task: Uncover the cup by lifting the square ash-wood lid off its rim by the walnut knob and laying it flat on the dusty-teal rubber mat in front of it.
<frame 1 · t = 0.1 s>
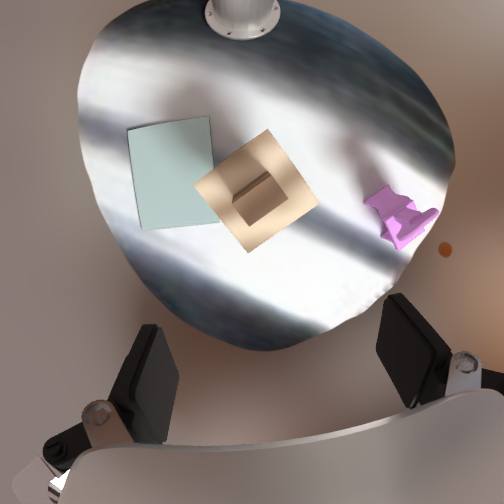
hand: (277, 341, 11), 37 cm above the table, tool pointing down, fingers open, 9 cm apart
lid: (257, 191, 33), point 12 cm above the table, touching cup
mat: (172, 174, 43), on the table
toy chair: (385, 212, 47), on the table
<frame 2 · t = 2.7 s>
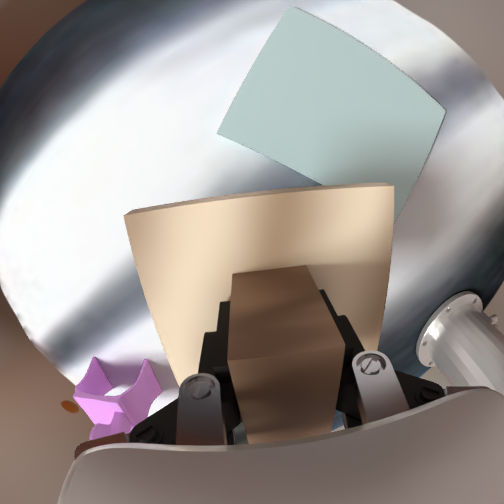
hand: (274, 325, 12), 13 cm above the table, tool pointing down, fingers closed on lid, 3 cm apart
lid: (271, 307, 13), point 12 cm above the table, touching cup, gripper
mat: (348, 112, 20), on the table
toy chair: (126, 373, 31), on the table
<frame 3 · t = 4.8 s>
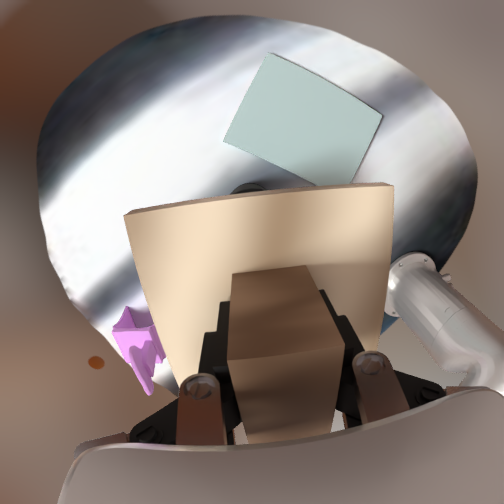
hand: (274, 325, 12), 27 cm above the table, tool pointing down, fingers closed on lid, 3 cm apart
lid: (271, 307, 13), point 26 cm above the table, touching gripper
mat: (307, 124, 33), on the table
toy chair: (151, 319, 44), on the table
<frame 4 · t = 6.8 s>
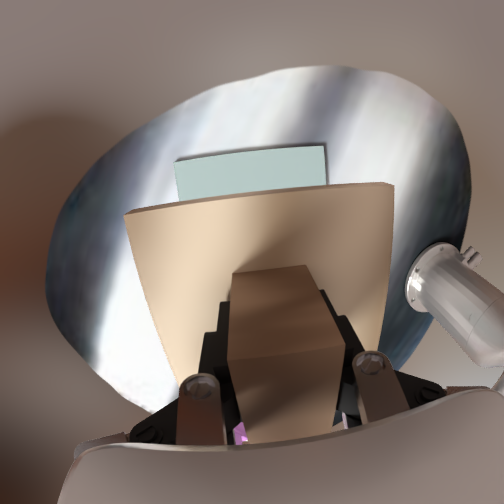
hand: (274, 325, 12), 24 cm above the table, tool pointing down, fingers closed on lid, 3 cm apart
lid: (271, 307, 13), point 22 cm above the table, touching gripper
mat: (254, 207, 34), on the table
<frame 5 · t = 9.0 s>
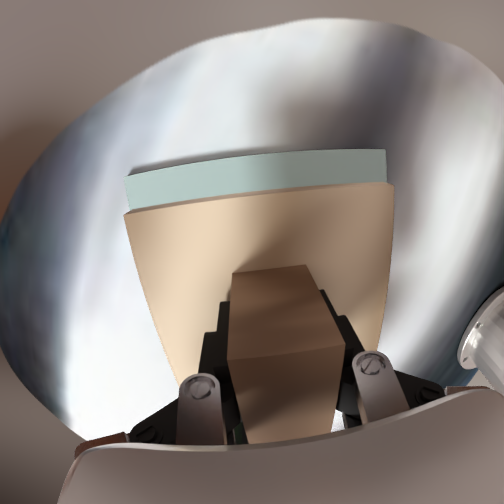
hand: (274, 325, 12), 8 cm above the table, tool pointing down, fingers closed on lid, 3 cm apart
lid: (271, 307, 13), point 7 cm above the table, touching gripper
mat: (266, 254, 20), on the table
when the fingers open (3 cm above the table, at t = 10.9 s): lid drops 1 cm, resting on mat.
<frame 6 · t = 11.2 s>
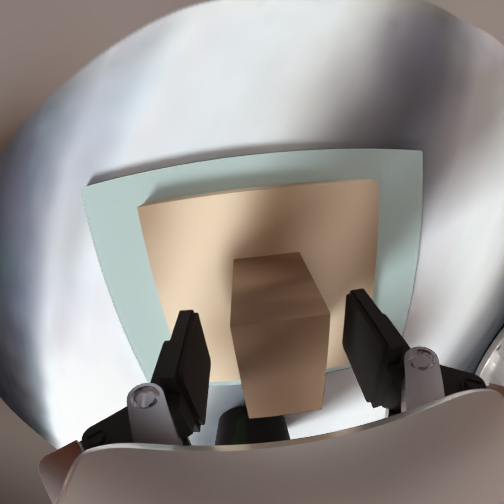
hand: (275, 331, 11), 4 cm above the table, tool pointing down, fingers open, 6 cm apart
cup: (251, 421, 20), on the table
lid: (268, 292, 14), point 1 cm above the table, touching mat
mat: (267, 287, 15), on the table
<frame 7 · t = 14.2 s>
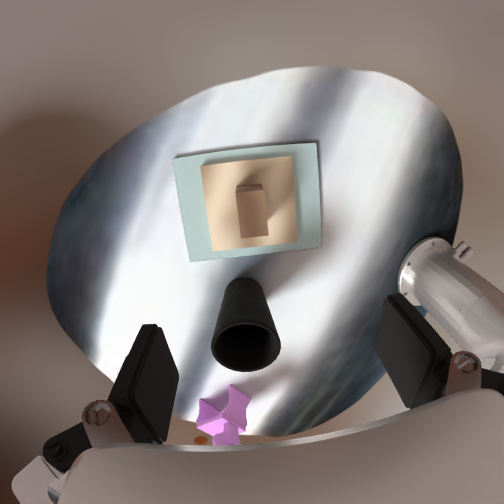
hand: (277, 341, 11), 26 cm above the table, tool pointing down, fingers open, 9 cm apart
cup: (244, 293, 40), on the table
lid: (250, 203, 34), point 1 cm above the table, touching mat
mat: (250, 202, 35), on the table
toy chair: (223, 399, 49), on the table
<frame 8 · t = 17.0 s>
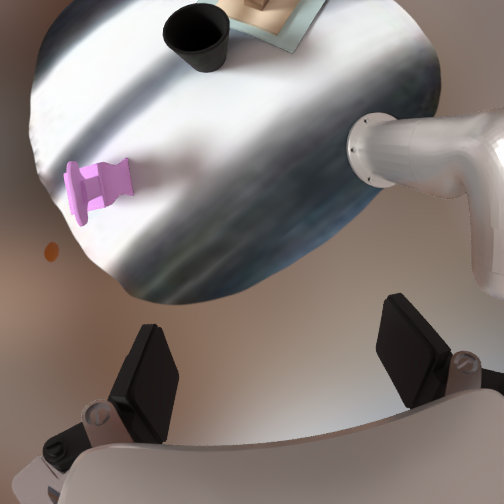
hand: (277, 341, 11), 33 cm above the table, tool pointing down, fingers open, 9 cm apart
cup: (207, 57, 33), on the table
lid: (259, 1, 29), point 1 cm above the table, touching mat
mat: (259, 2, 29), on the table
toy chair: (108, 181, 40), on the table
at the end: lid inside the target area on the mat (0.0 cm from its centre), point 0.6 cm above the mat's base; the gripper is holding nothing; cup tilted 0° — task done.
